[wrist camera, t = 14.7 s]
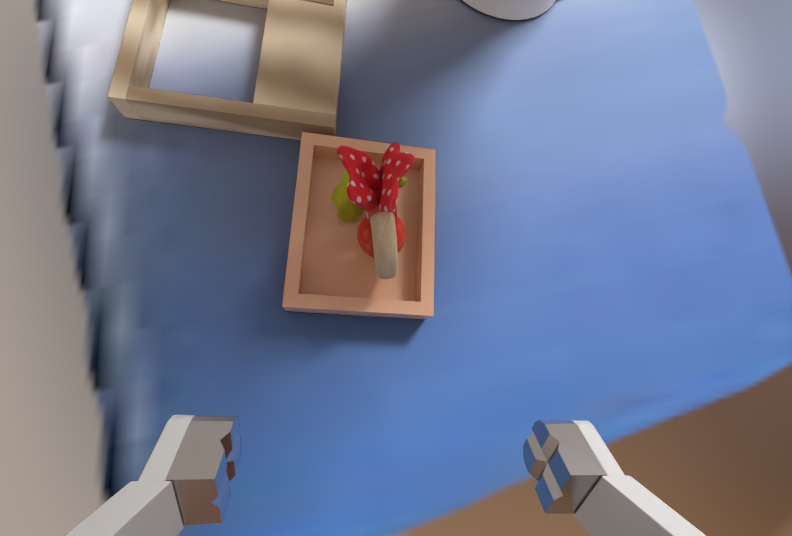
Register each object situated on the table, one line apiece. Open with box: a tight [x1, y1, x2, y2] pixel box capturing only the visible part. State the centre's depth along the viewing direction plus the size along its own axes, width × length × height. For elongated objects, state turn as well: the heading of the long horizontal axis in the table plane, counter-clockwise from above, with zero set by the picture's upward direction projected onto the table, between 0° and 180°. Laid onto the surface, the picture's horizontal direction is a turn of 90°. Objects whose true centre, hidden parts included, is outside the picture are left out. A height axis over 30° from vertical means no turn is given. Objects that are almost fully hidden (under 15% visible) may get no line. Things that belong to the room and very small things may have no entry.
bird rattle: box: [331, 142, 415, 279], centre depth 26 cm, size 6×11×9 cm
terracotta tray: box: [282, 132, 436, 319], centre depth 30 cm, size 14×11×2 cm
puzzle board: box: [107, 0, 347, 140], centre depth 33 cm, size 21×17×3 cm
